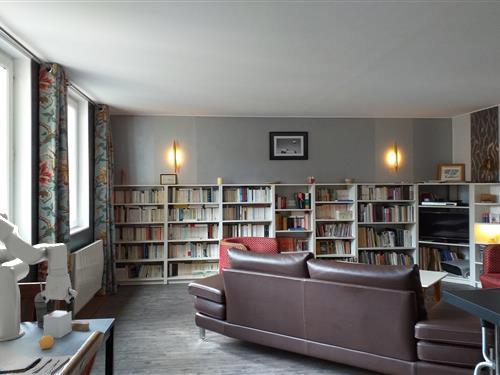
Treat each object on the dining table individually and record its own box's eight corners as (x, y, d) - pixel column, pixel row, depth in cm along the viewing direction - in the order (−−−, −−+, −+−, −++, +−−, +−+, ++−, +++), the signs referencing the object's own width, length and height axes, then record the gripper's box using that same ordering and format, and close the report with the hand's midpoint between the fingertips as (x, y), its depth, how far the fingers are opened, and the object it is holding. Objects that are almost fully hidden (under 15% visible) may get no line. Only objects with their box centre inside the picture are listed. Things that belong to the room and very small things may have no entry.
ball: (36, 350, 149) (36, 337, 149) (45, 345, 154) (45, 332, 154) (47, 351, 148) (47, 338, 148) (56, 346, 153) (56, 333, 153)
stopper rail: (66, 329, 171) (66, 322, 171) (69, 327, 173) (69, 321, 173) (86, 330, 169) (86, 324, 169) (89, 329, 171) (89, 322, 171)
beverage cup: (44, 328, 172) (44, 284, 172) (30, 327, 174) (30, 283, 174) (55, 323, 179) (55, 280, 179) (42, 322, 181) (42, 280, 181)
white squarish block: (43, 336, 163) (43, 316, 163) (56, 330, 170) (56, 310, 170) (59, 337, 161) (59, 317, 161) (71, 331, 169) (71, 311, 169)
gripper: (34, 274, 164) (36, 313, 164) (69, 274, 161) (71, 314, 161) (47, 270, 171) (48, 308, 171) (81, 270, 168) (82, 309, 168)
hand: (59, 311), depth 166 cm, fingers open, 9 cm apart
